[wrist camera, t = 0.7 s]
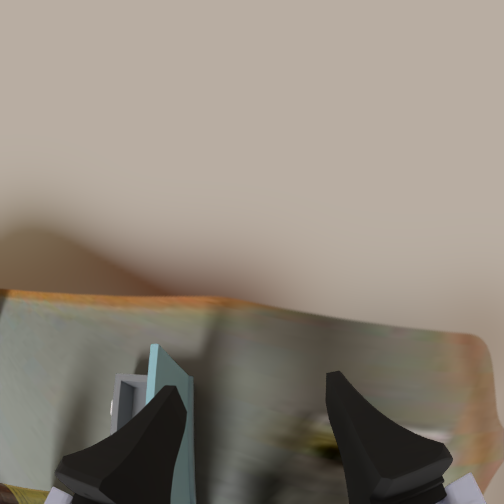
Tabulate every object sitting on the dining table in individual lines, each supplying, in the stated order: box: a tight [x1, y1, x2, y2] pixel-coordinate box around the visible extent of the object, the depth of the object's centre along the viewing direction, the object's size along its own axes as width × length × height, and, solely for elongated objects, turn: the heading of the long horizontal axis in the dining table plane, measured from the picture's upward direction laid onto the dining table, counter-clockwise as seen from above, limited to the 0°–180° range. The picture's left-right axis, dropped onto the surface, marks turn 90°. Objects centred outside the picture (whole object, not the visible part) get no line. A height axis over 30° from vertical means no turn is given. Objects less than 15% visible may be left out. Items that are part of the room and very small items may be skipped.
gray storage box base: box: [110, 373, 197, 504], centre depth 19 cm, size 18×8×4 cm, turn 3°
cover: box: [146, 344, 196, 504], centre depth 15 cm, size 18×9×1 cm
